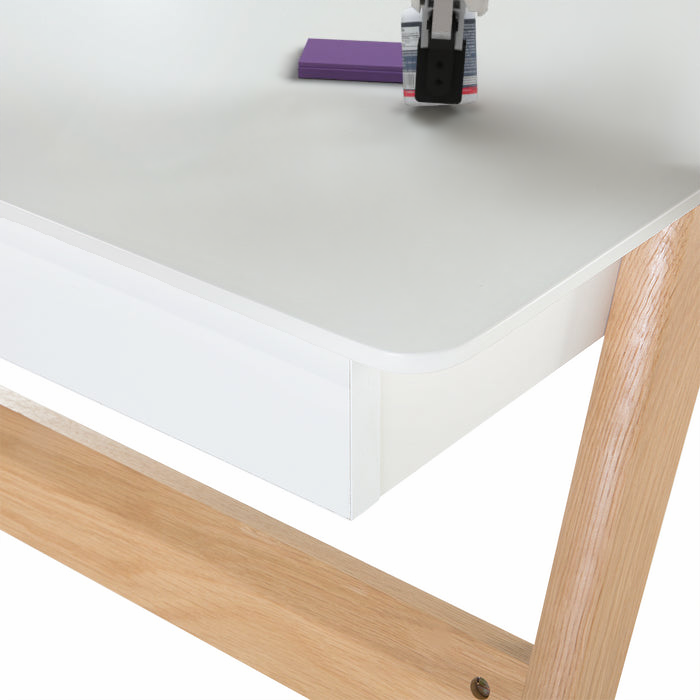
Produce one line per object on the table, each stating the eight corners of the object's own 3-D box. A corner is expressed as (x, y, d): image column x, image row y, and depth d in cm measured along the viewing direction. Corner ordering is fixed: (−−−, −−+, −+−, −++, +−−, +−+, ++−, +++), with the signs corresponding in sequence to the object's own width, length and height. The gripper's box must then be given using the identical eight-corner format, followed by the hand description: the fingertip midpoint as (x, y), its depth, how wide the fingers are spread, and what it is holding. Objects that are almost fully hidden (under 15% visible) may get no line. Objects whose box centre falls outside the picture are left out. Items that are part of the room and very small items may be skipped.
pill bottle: (482, 100, 90) (480, -27, 88) (471, 105, 85) (469, -30, 83) (410, 102, 91) (407, -23, 89) (396, 107, 86) (392, -26, 84)
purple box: (458, 56, 98) (459, 42, 97) (454, 85, 93) (455, 70, 93) (309, 49, 99) (309, 35, 99) (298, 77, 94) (297, 62, 94)
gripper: (521, -158, 68) (492, 149, 78) (519, -209, 80) (493, 62, 90) (385, -164, 68) (374, 141, 79) (403, -214, 80) (391, 55, 91)
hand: (438, 98), depth 84 cm, fingers closed
